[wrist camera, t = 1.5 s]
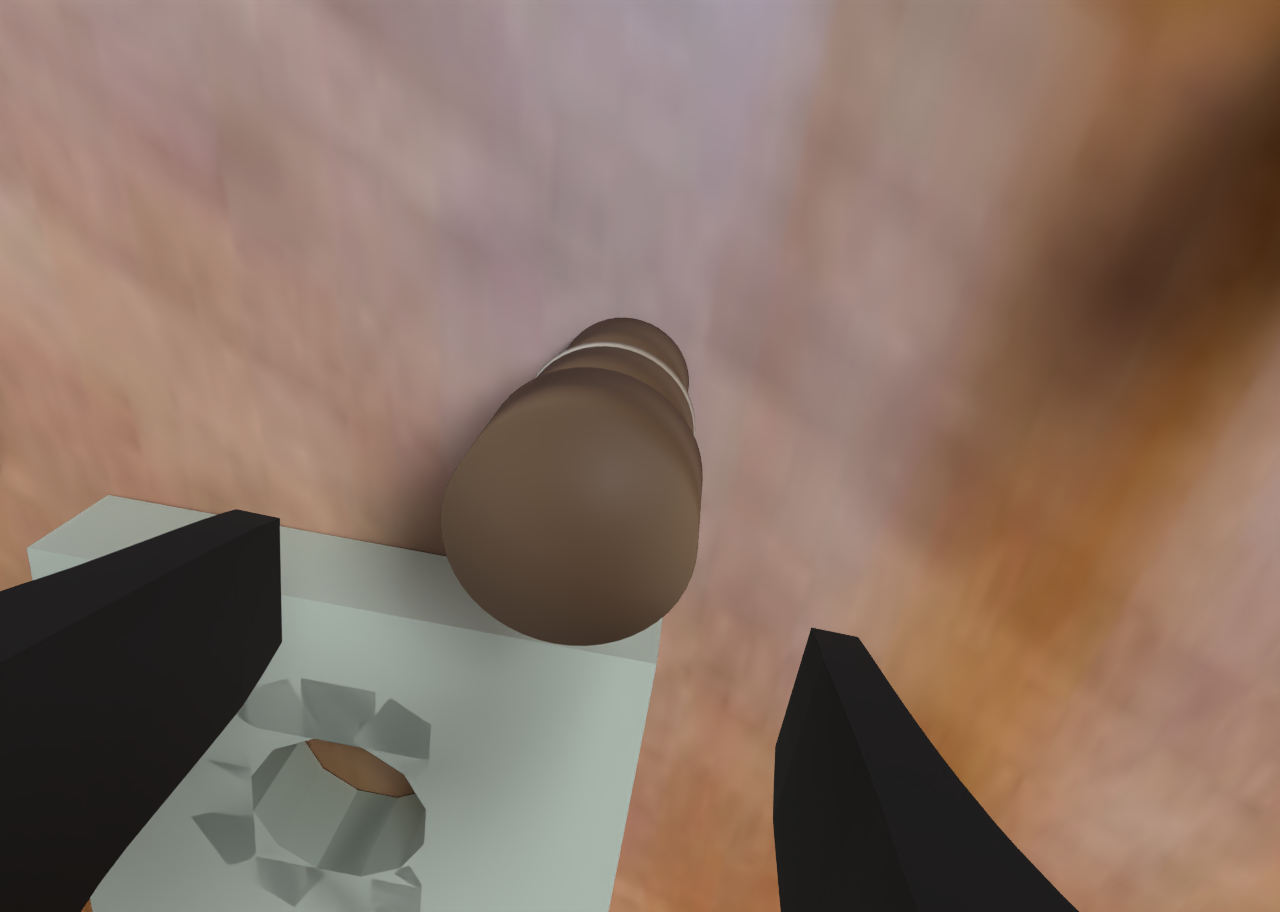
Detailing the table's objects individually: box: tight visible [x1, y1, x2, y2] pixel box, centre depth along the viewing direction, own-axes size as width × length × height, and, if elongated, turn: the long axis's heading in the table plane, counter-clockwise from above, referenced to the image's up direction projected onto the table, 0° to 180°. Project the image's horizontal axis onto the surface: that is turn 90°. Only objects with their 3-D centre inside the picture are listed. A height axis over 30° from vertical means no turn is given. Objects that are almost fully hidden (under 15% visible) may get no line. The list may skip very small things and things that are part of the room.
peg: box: [441, 318, 702, 646], centre depth 17 cm, size 4×4×8 cm
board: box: [27, 495, 663, 912], centre depth 25 cm, size 16×14×3 cm
